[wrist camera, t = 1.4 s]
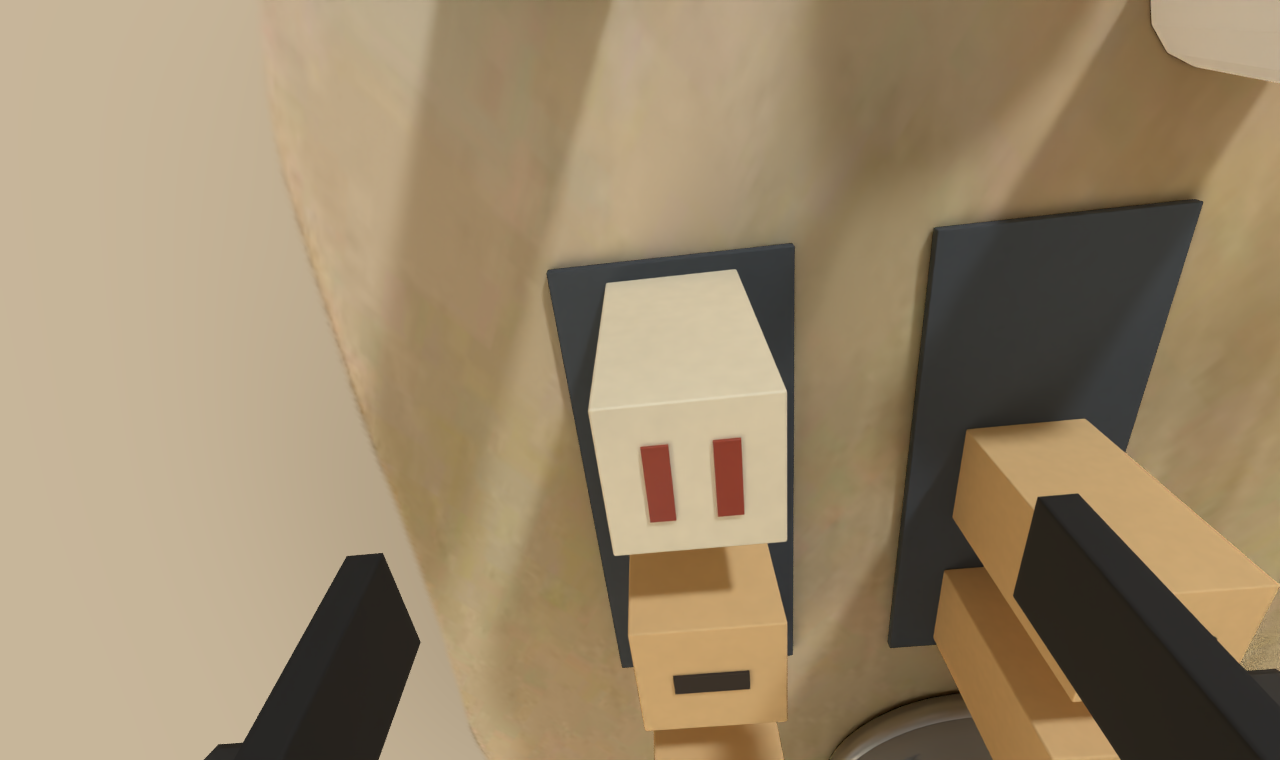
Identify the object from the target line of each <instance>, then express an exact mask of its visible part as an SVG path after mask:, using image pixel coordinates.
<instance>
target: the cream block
mask: <svg viewBox="0 0 1280 760" xmlns="http://www.w3.org/2000/svg"><path fill="white" fill-rule="evenodd" d="M588 415H589V420H590V426H591V431H592V437H593V443H594V448H595V454H596V459H597V465H598V471H599V476H600V482H601V487H602V493H603V498H604V504H605V510H606V515H607V521H608V526H609V532H610V538H611V543H612V549H613V554H614V555H615V556H621V555H633V554H645V553H657V552H669V551H680V550H692V549H704V548H716V547H728V546H740V545H752V544H764V543H776V542H786V541H787V390H786V388H785V386H784V383H783V381H782V378H781V376H780V374H779V371H778V369H777V366H776V364H775V362H774V359H773V357H772V354H771V352H770V349H769V347H768V345H767V342H766V340H765V337H764V335H763V333H762V330H761V328H760V325H759V323H758V321H757V318H756V316H755V313H754V311H753V308H752V306H751V304H750V301H749V299H748V296H747V294H746V292H745V289H744V287H743V284H742V282H741V280H740V277H739V275H738V272H737V270H736V269H732V270H723V271H714V272H704V273H695V274H686V275H676V276H667V277H658V278H649V279H639V280H630V281H621V282H612V283H606V286H605V293H604V300H603V307H602V315H601V322H600V329H599V336H598V343H597V350H596V357H595V364H594V371H593V378H592V385H591V392H590V399H589V407H588Z"/></svg>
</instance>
